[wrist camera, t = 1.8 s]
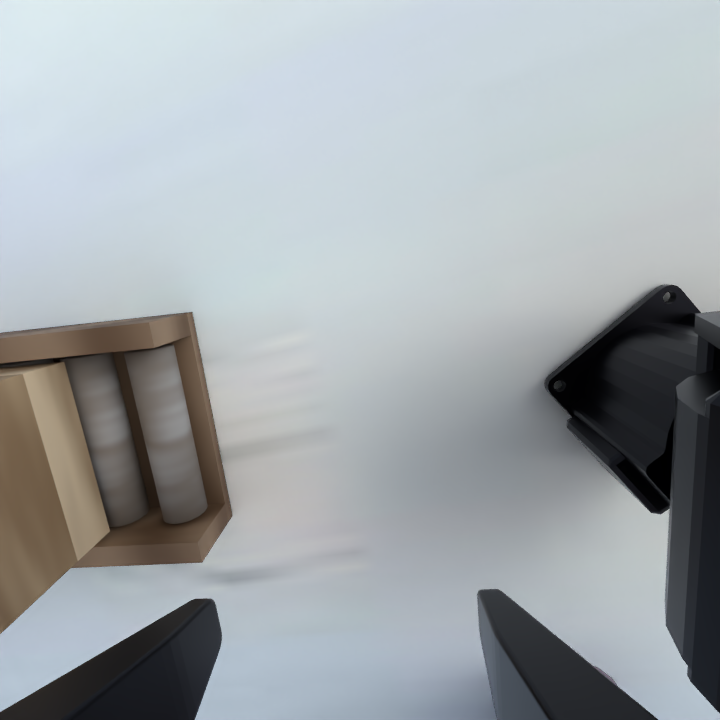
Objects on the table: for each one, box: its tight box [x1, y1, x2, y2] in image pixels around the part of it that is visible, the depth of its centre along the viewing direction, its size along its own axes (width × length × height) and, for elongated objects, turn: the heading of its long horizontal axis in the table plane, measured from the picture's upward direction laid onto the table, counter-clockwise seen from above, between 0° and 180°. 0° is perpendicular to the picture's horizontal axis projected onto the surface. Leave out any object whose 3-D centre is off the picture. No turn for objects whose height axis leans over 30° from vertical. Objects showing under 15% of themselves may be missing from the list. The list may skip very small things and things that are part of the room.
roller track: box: [0, 312, 232, 568], centre depth 19 cm, size 17×11×6 cm, turn 96°
